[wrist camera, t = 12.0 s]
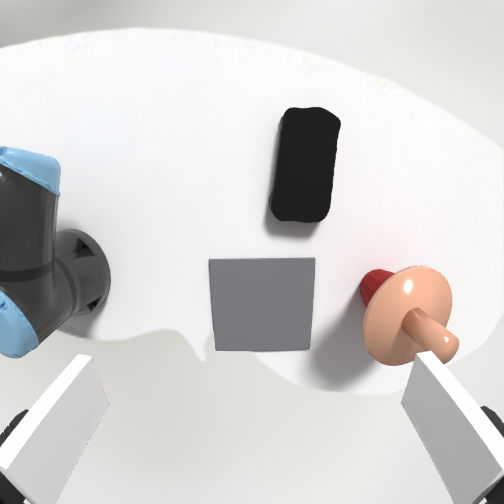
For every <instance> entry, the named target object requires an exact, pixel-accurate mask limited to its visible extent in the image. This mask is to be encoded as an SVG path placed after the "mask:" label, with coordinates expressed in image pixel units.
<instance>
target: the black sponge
mask: <svg viewBox="0 0 504 504" xmlns="http://www.w3.org/2000/svg"><path fill="white" fill-rule="evenodd" d="M340 127H341V122H340V120H339V118H338V117H336V116H335V115H334V114H332V113H331V112H329V111H328V110H326V109H324V108H321V107H311V108H296V107H294V108H289V109H288V110H286V112H285V113H284V115H283V116H282V118H281V131H280V138H279V146H278V154H277V163H276V170H275V178H274V187H273V191H272V193H271V195H270V198H269V205H270V208H271V211H272V213H273V215H274V216H275V217H276V218H277V219H278V220H280V221H298V222H304V223H312V222H320V221H322V220H323V219H324V218H325V217H326V216H327V214H328V212H329V209H330V204H331V193H332V188H333V176H334V167H335V159H336V152H337V139H338V134H339V130H340Z"/></svg>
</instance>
